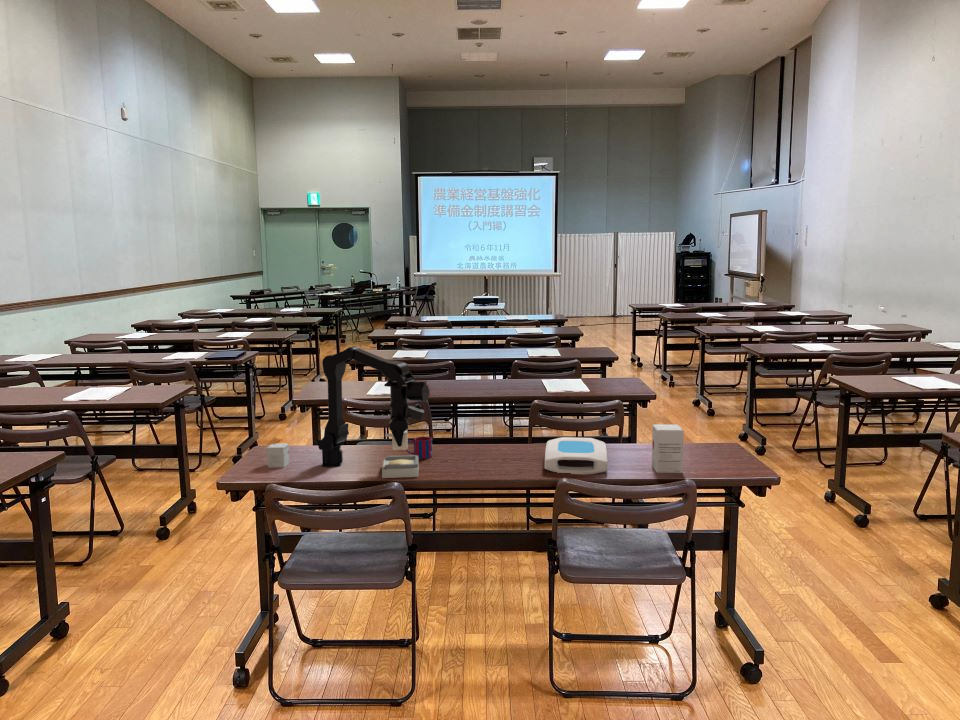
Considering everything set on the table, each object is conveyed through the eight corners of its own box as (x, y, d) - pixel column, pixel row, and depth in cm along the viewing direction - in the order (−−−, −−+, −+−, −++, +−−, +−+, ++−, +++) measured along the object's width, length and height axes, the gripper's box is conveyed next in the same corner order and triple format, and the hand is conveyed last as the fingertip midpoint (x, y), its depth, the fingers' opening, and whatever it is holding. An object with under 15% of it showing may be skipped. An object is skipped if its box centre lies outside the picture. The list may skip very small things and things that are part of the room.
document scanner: (544, 473, 238) (544, 456, 238) (547, 452, 266) (547, 436, 265) (607, 475, 235) (607, 457, 235) (604, 453, 263) (604, 437, 262)
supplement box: (651, 465, 246) (652, 423, 244) (677, 466, 245) (678, 424, 243) (656, 473, 237) (657, 429, 235) (683, 473, 236) (684, 429, 234)
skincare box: (284, 467, 248) (283, 447, 247) (267, 467, 249) (266, 447, 248) (289, 463, 254) (288, 443, 253) (273, 463, 255) (272, 443, 254)
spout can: (385, 450, 238) (384, 431, 237) (385, 446, 243) (385, 428, 242) (407, 449, 239) (406, 430, 238) (407, 445, 244) (407, 427, 243)
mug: (431, 458, 258) (431, 440, 257) (404, 459, 258) (403, 440, 257) (433, 454, 264) (432, 436, 263) (406, 454, 265) (406, 436, 264)
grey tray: (382, 478, 235) (381, 466, 234) (384, 466, 248) (384, 455, 248) (418, 476, 235) (418, 465, 235) (418, 465, 249) (418, 454, 249)
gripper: (422, 404, 230) (423, 450, 232) (422, 394, 249) (423, 437, 251) (388, 405, 229) (389, 451, 231) (391, 394, 248) (392, 438, 250)
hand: (400, 444), depth 241 cm, fingers closed on spout can, 5 cm apart
